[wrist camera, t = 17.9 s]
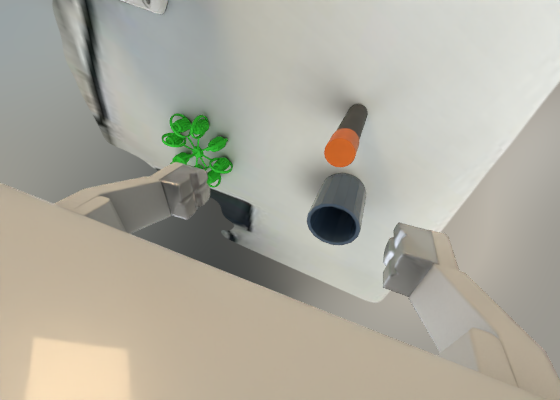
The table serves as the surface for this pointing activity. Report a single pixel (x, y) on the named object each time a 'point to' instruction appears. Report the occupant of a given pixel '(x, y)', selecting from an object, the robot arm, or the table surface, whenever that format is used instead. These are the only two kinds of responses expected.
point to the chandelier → (214, 145)
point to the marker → (346, 137)
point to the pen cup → (338, 209)
